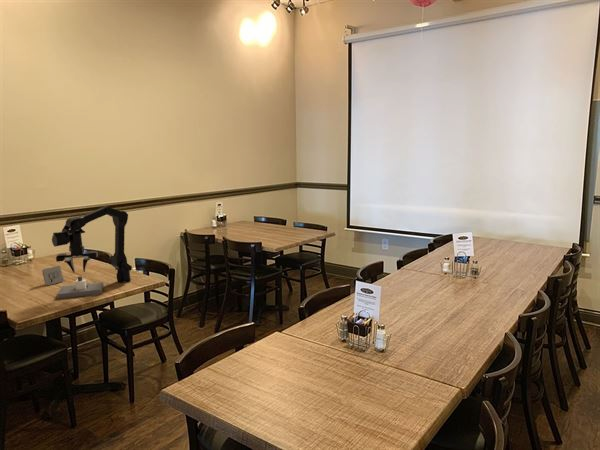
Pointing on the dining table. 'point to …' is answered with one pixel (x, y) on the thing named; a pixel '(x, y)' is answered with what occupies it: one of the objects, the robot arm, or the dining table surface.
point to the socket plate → (72, 292)
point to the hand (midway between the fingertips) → (79, 272)
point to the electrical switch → (52, 275)
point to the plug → (80, 283)
